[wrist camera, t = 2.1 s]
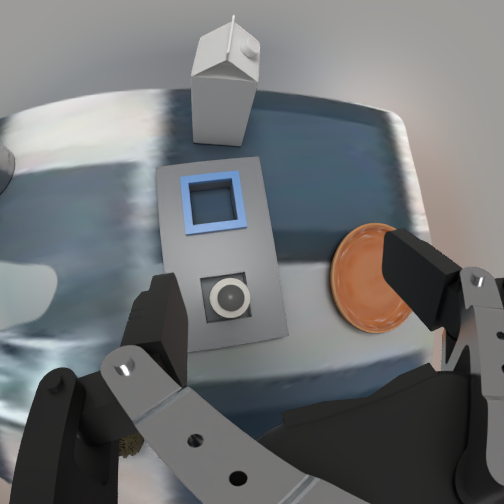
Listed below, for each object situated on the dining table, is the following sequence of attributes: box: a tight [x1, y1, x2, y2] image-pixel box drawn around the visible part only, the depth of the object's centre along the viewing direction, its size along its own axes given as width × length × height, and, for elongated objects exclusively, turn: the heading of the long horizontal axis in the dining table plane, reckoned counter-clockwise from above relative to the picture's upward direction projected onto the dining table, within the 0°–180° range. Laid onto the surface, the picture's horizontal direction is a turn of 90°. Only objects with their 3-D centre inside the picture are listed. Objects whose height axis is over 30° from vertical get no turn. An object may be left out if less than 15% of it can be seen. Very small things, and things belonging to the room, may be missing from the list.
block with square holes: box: [156, 157, 289, 352], centre depth 37 cm, size 14×24×3 cm, turn 9°
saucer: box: [330, 223, 412, 333], centre depth 40 cm, size 16×16×3 cm
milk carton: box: [191, 15, 260, 146], centre depth 32 cm, size 7×7×19 cm
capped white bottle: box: [209, 278, 250, 318], centre depth 33 cm, size 4×4×10 cm
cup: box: [119, 432, 144, 458], centre depth 29 cm, size 8×7×8 cm
